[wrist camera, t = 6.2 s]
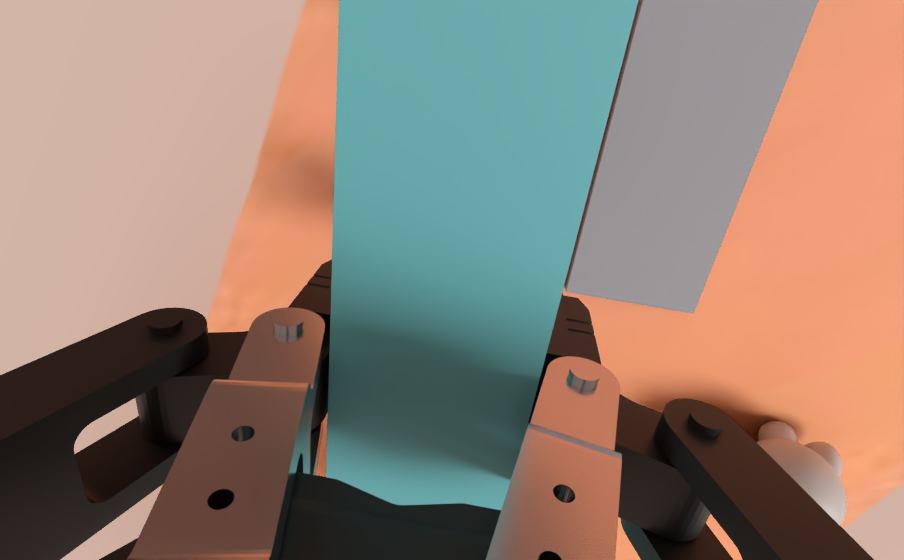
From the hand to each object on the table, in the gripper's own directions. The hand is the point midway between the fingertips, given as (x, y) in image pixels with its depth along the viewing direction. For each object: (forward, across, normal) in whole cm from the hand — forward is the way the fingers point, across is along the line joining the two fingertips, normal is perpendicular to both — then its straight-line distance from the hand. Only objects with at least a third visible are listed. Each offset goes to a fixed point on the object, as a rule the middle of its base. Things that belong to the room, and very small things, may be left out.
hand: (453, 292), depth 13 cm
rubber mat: (+23, -12, -1) cm, 26 cm away
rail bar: (-1, 0, 0) cm, 1 cm away
